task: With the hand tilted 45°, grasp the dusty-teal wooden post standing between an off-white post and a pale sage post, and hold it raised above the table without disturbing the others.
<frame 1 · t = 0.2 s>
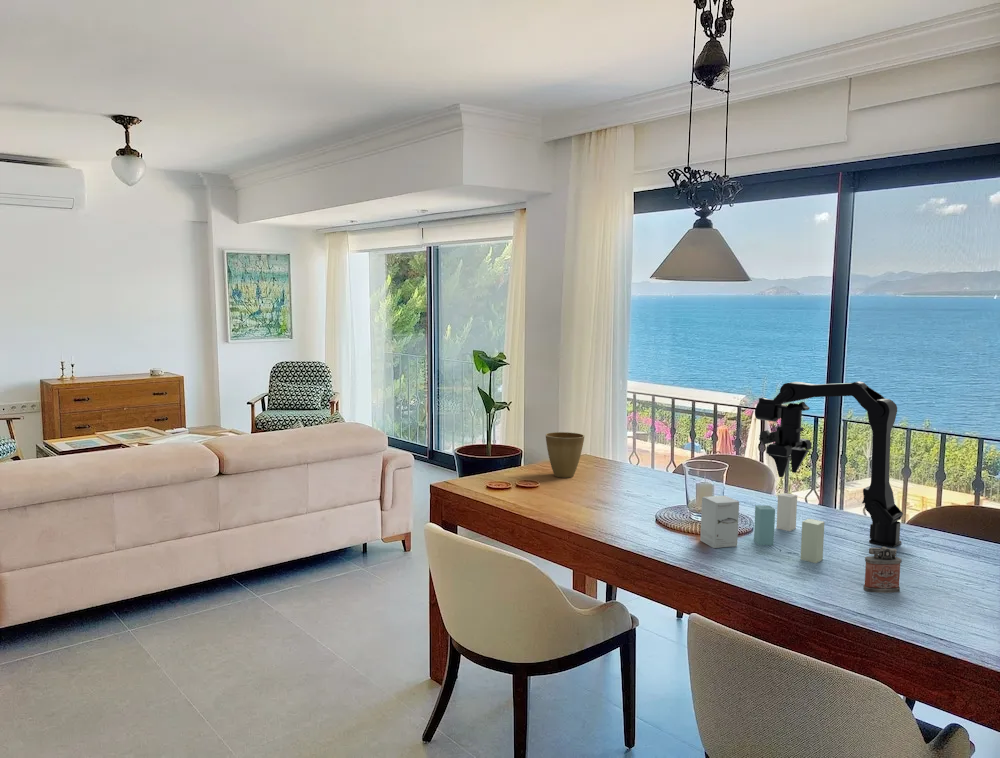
hand: (787, 474, 223), 15 cm above the table, fingers open, 9 cm apart
teal post: (763, 542, 204), on the table
sage post: (811, 559, 190), on the table
plant pot: (564, 476, 285), on the table
supplement box: (718, 544, 203), on the table
off-white post: (786, 528, 218), on the table
lighter: (881, 590, 170), on the table
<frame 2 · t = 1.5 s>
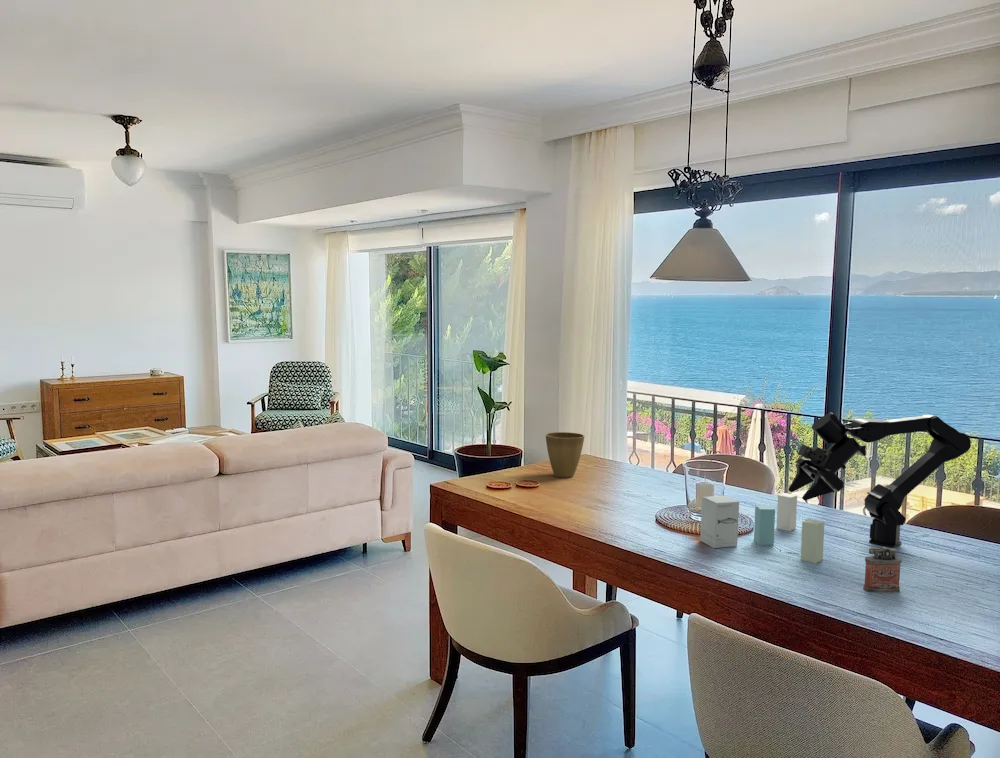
hand: (796, 495, 203), 13 cm above the table, fingers open, 9 cm apart
nothing on the table moved.
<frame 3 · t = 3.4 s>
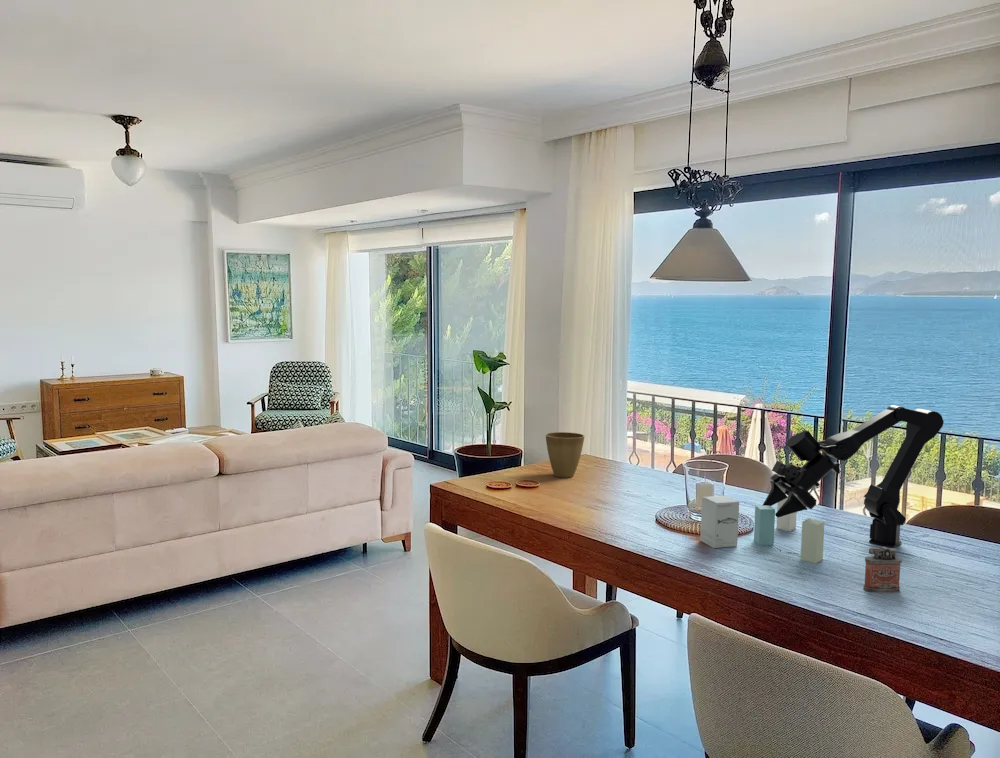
hand: (769, 511, 203), 9 cm above the table, fingers open, 9 cm apart
nothing on the table moved.
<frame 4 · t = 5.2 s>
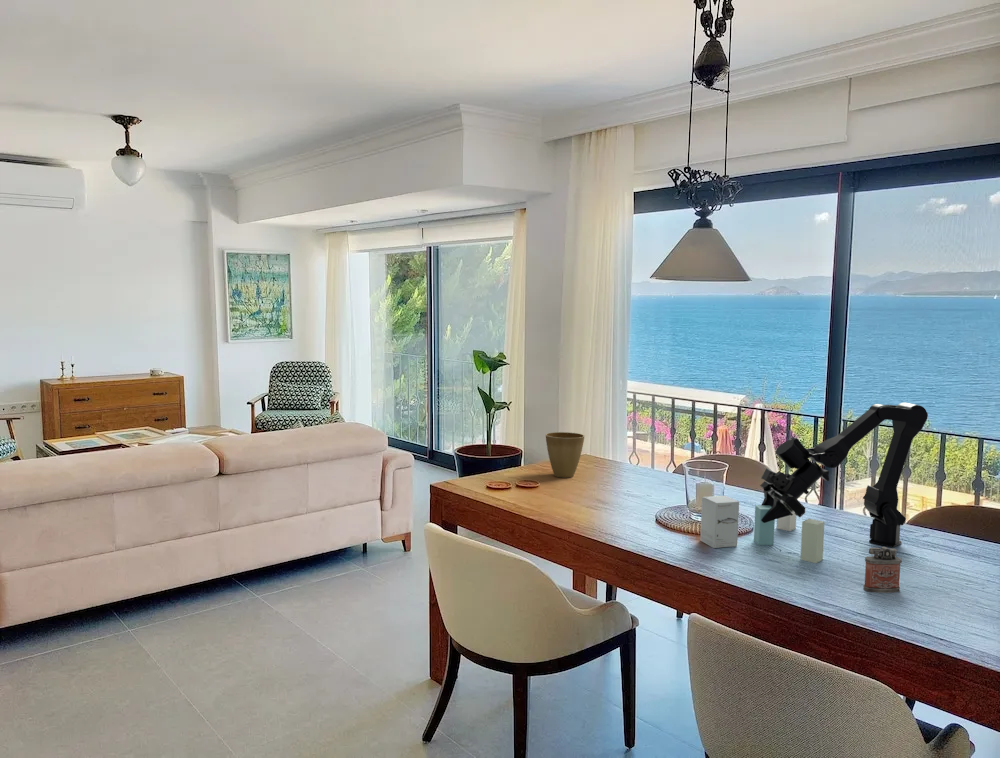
hand: (759, 519, 203), 7 cm above the table, fingers closed on teal post, 4 cm apart
teal post: (763, 542, 204), on the table, touching gripper
everything else where it was.
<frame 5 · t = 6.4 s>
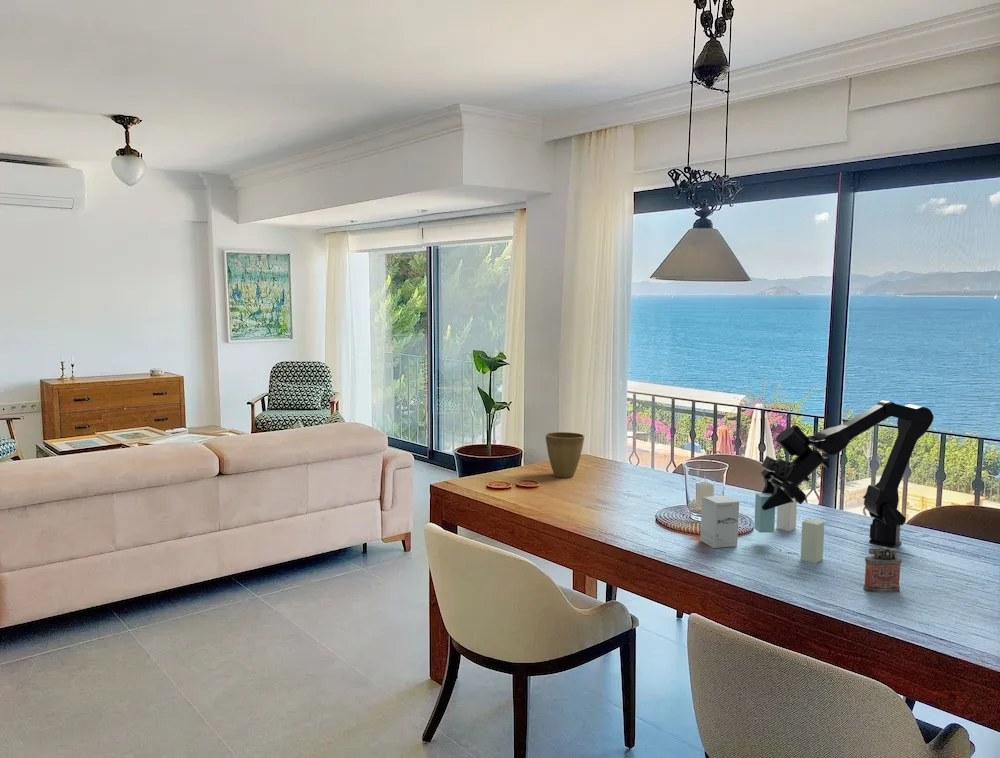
hand: (760, 506, 203), 10 cm above the table, fingers closed on teal post, 4 cm apart
teal post: (764, 530, 203), point 3 cm above the table, touching gripper
everything else where it was.
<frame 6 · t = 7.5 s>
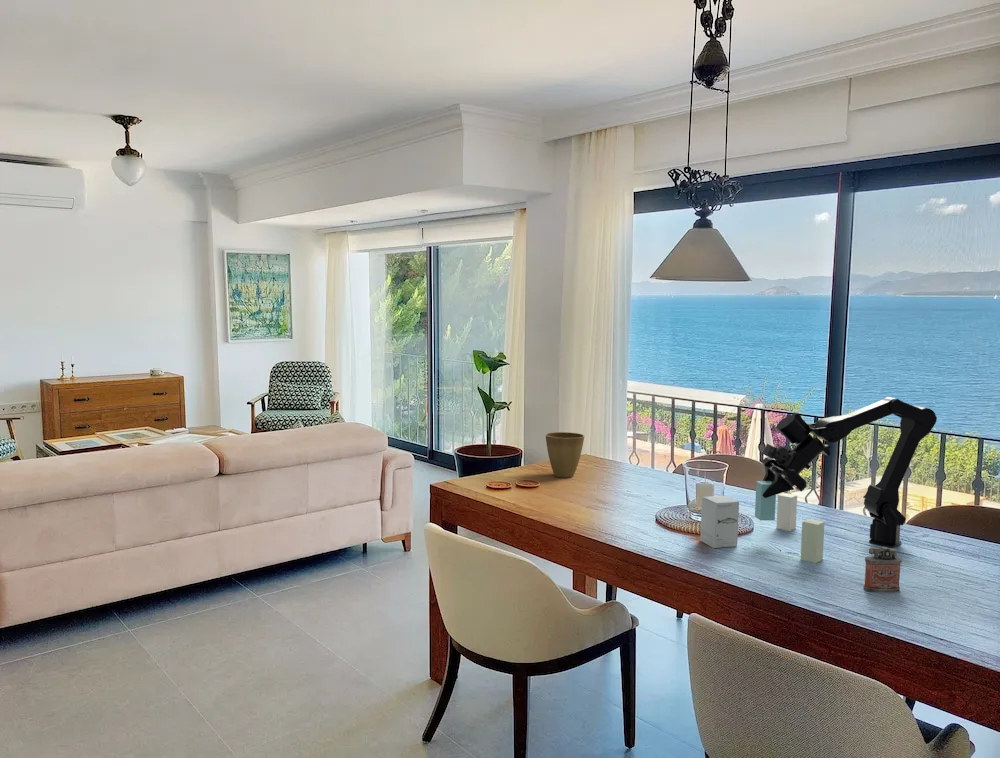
hand: (760, 494, 202), 13 cm above the table, fingers closed on teal post, 4 cm apart
teal post: (764, 518, 203), point 7 cm above the table, touching gripper
everything else where it was.
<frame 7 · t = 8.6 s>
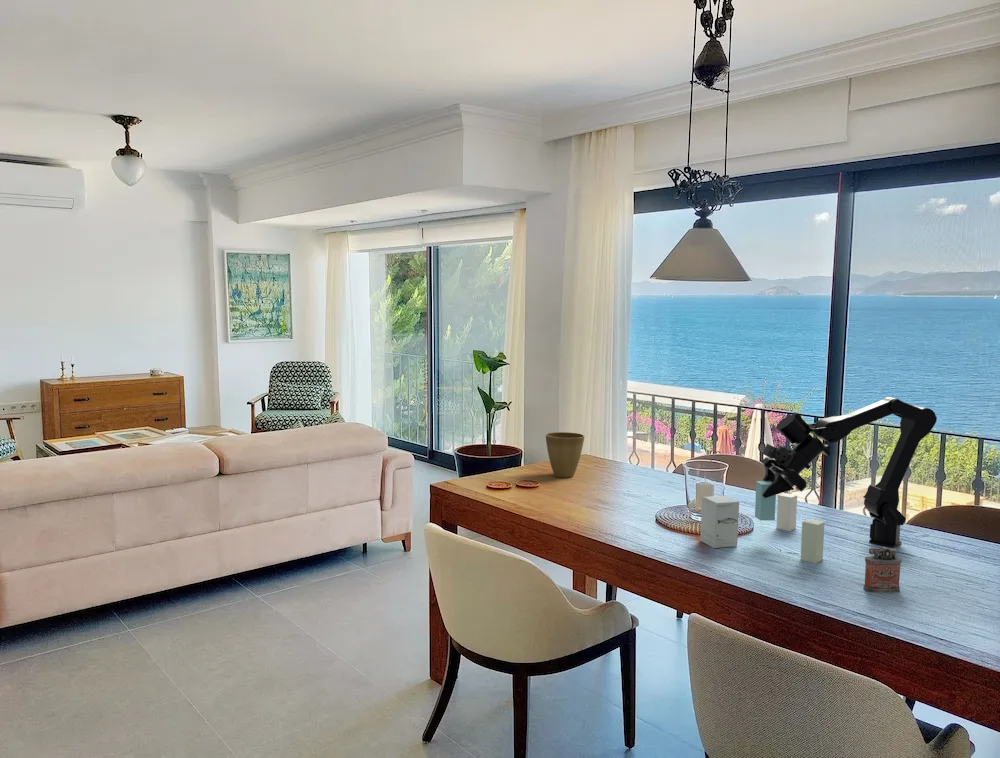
hand: (760, 494, 202), 13 cm above the table, fingers closed on teal post, 4 cm apart
teal post: (764, 518, 203), point 7 cm above the table, touching gripper
everything else where it was.
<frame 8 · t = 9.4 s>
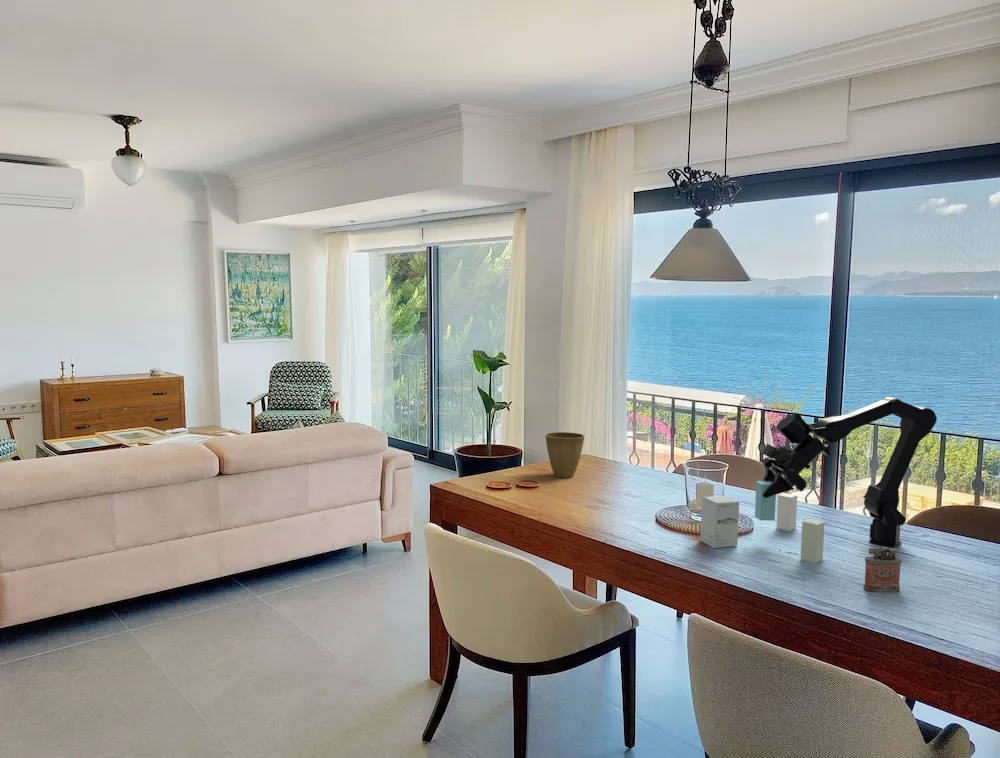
hand: (760, 494, 202), 13 cm above the table, fingers closed on teal post, 4 cm apart
teal post: (764, 518, 203), point 7 cm above the table, touching gripper
everything else where it was.
at the end: the gripper is holding teal post; teal post point 6.9 cm above the table; off-white post moved 0.0 cm from its start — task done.
